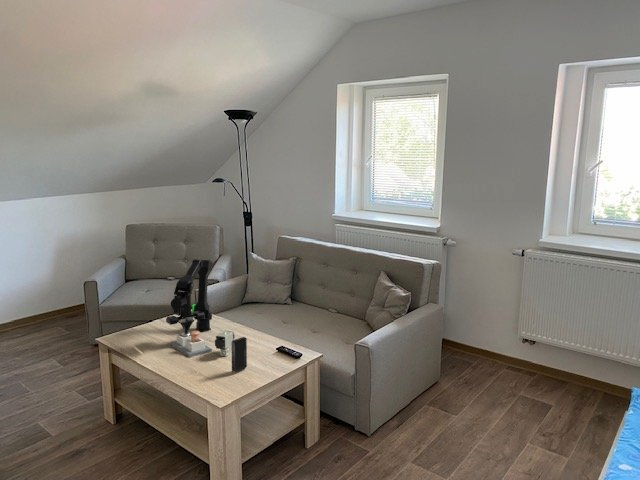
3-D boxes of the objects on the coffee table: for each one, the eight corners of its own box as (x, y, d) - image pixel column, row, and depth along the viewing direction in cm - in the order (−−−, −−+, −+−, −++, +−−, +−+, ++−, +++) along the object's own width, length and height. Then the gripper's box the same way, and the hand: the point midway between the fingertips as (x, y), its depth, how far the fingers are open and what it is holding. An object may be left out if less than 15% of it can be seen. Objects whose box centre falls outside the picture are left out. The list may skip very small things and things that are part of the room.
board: (191, 339, 264) (191, 329, 263) (211, 351, 248) (211, 341, 247) (170, 344, 256) (170, 334, 256) (189, 357, 240) (189, 346, 239)
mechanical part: (203, 317, 304) (203, 304, 303) (193, 318, 301) (193, 305, 300) (199, 312, 315) (199, 299, 314) (189, 313, 312) (189, 300, 311)
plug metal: (188, 340, 259) (188, 331, 258) (192, 342, 255) (192, 333, 255) (180, 342, 256) (179, 333, 255) (184, 344, 252) (183, 335, 252)
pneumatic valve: (235, 351, 248) (234, 328, 247) (223, 360, 237) (222, 336, 236) (225, 350, 250) (225, 327, 248) (213, 358, 239) (212, 334, 237)
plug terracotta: (197, 339, 251) (196, 330, 250) (201, 341, 247) (201, 332, 247) (188, 341, 248) (188, 331, 247) (192, 343, 244) (192, 334, 244)
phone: (233, 372, 223) (233, 341, 221) (231, 372, 224) (231, 340, 221) (246, 367, 229) (246, 336, 226) (245, 367, 229) (245, 336, 227)
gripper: (194, 297, 265) (195, 326, 267) (161, 303, 253) (162, 333, 255) (204, 302, 256) (205, 331, 259) (170, 308, 244) (171, 339, 247)
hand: (186, 333), depth 255 cm, fingers closed, pressing on plug metal
